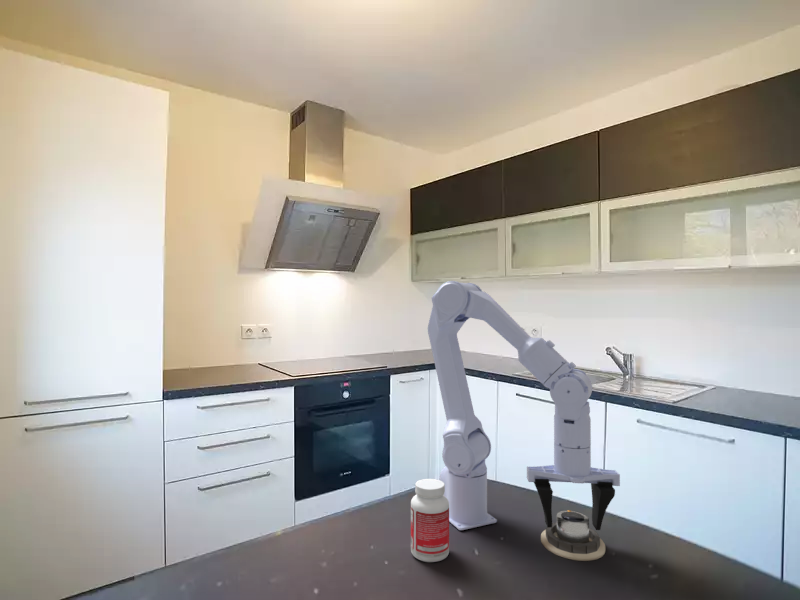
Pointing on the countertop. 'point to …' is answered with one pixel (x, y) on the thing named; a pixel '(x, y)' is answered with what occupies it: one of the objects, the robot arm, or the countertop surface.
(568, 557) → the mount
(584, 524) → the lens
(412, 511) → the pill bottle
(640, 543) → the countertop surface
